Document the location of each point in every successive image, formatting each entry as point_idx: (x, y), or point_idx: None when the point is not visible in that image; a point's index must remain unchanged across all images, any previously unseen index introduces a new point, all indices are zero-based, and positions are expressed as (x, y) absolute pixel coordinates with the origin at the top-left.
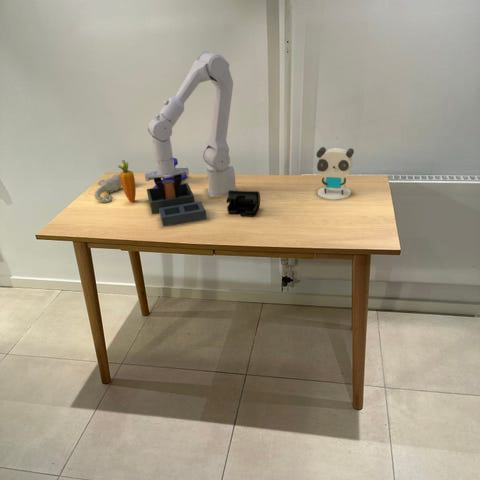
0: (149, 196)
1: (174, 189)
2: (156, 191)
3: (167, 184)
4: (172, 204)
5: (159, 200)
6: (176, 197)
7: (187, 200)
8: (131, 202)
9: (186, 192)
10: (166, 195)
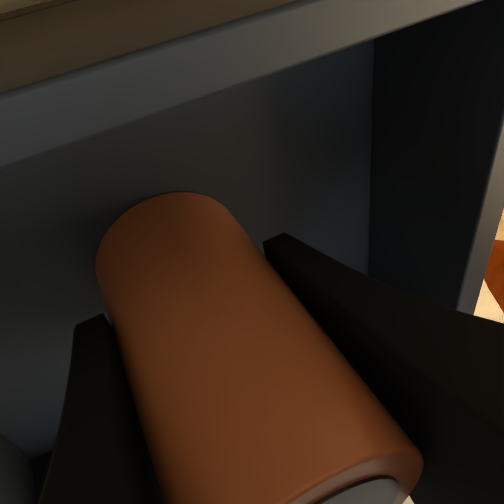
0: (496, 205)
1: (154, 424)
2: None
3: (345, 471)
4: (110, 18)
5: (419, 10)
6: (108, 323)
7: None
8: (495, 240)
9: (39, 480)
10: (270, 279)
